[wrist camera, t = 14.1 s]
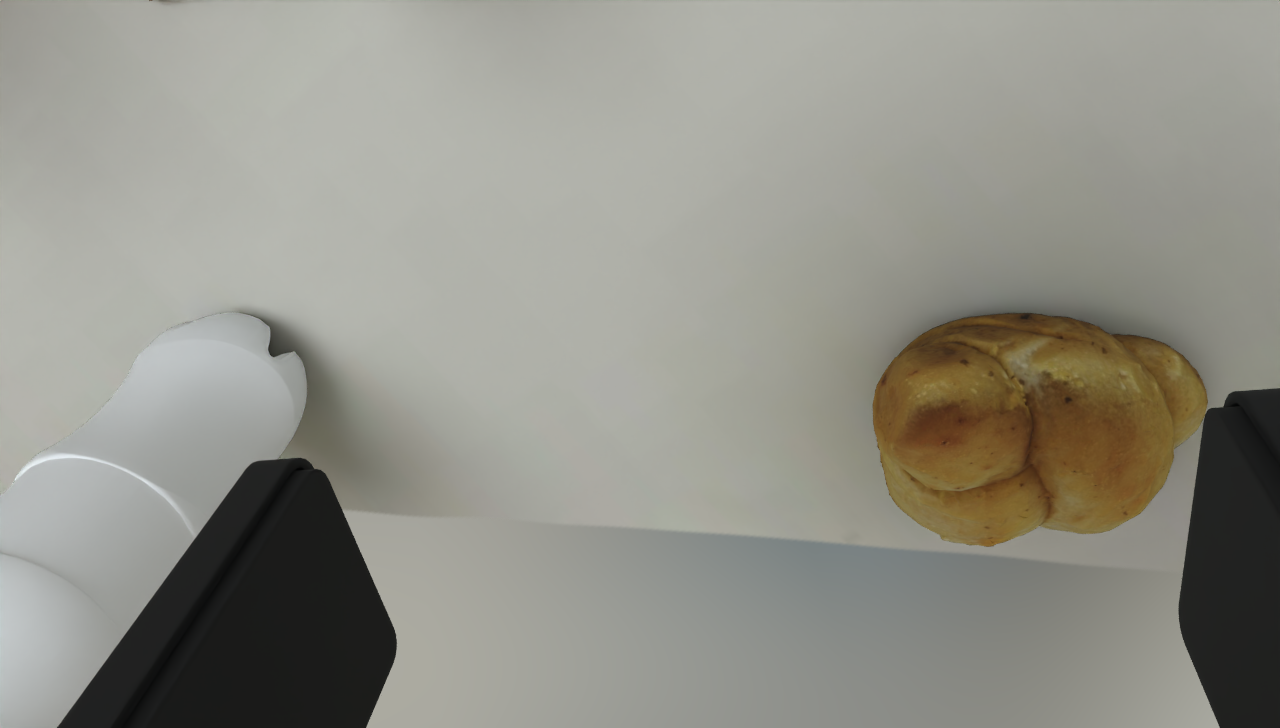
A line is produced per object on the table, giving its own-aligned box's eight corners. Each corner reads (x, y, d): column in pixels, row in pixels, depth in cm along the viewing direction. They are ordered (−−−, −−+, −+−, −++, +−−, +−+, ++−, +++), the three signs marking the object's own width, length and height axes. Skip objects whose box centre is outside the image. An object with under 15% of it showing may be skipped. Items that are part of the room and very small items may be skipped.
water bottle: (273, 277, 44) (-199, 786, 23) (350, 407, 47) (1, 953, 26) (142, 315, 46) (-399, 815, 25) (226, 437, 49) (-189, 967, 28)
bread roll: (1210, 290, 39) (1298, 411, 32) (1152, 486, 44) (1217, 624, 37) (870, 284, 40) (885, 397, 34) (853, 473, 45) (864, 603, 39)
